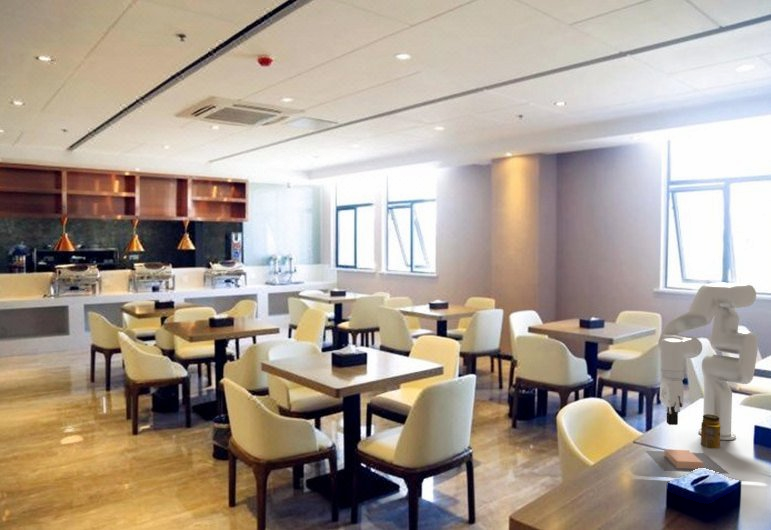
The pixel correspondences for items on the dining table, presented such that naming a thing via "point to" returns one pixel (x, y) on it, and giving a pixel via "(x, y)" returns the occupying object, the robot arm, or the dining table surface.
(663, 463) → the mat
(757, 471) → the dining table surface
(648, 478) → the dining table surface
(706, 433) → the condiment
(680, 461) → the tile
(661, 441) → the dining table surface
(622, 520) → the dining table surface
